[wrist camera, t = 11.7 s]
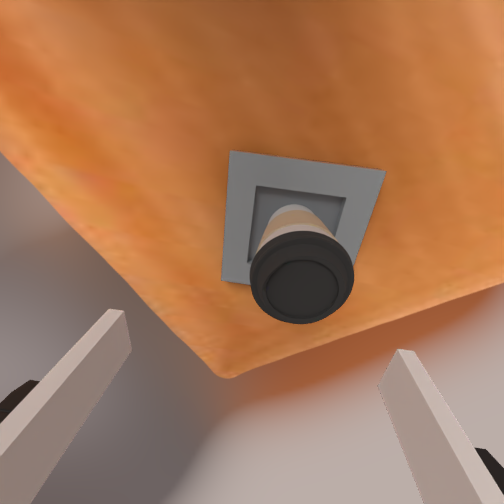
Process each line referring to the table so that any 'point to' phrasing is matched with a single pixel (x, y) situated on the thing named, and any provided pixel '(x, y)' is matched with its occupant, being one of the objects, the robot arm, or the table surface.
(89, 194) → the table surface
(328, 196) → the frame
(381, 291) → the table surface
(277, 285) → the coffee cup
